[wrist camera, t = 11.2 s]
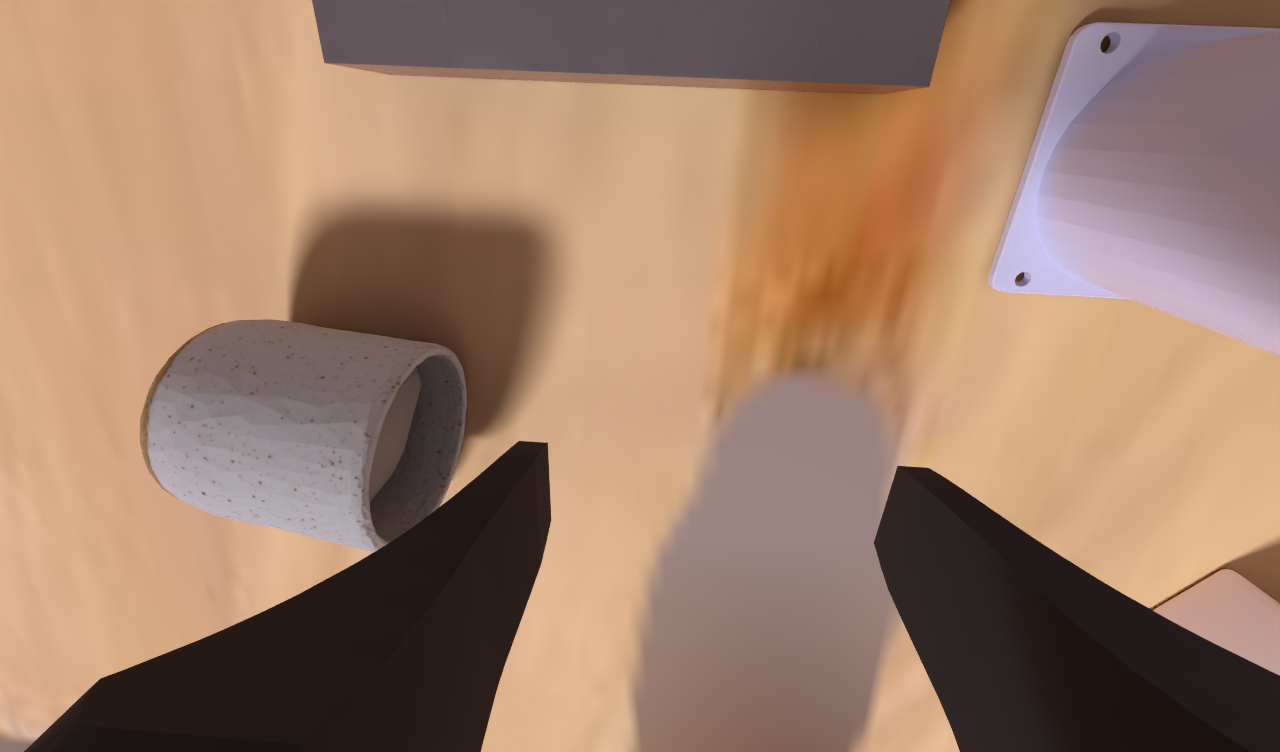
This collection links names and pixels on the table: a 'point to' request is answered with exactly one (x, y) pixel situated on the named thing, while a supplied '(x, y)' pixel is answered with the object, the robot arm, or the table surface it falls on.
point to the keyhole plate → (644, 41)
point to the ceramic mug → (307, 428)
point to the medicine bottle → (1230, 617)
